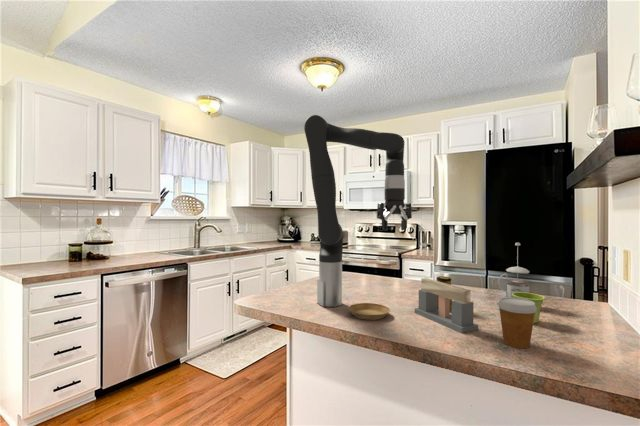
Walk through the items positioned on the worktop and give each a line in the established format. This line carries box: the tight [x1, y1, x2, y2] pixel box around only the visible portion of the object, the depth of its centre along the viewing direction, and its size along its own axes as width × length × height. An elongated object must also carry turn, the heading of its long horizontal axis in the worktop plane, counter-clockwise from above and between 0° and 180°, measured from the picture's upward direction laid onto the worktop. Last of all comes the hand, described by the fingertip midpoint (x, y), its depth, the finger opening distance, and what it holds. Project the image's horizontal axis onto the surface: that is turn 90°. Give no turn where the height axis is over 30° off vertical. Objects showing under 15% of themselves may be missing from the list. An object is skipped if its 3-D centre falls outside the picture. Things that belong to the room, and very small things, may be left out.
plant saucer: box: [348, 302, 391, 321], centre depth 117 cm, size 15×15×3 cm
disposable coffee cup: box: [497, 296, 537, 349], centre depth 92 cm, size 10×10×12 cm
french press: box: [497, 242, 530, 298], centre depth 130 cm, size 10×12×25 cm
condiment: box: [436, 275, 453, 312], centre depth 125 cm, size 7×8×12 cm
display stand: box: [414, 289, 479, 334], centre depth 111 cm, size 7×22×8 cm, turn 23°
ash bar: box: [420, 277, 471, 304], centre depth 111 cm, size 2×20×4 cm, turn 22°
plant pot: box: [512, 291, 546, 324], centre depth 111 cm, size 9×9×9 cm
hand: (394, 230), depth 125 cm, fingers open, 8 cm apart
